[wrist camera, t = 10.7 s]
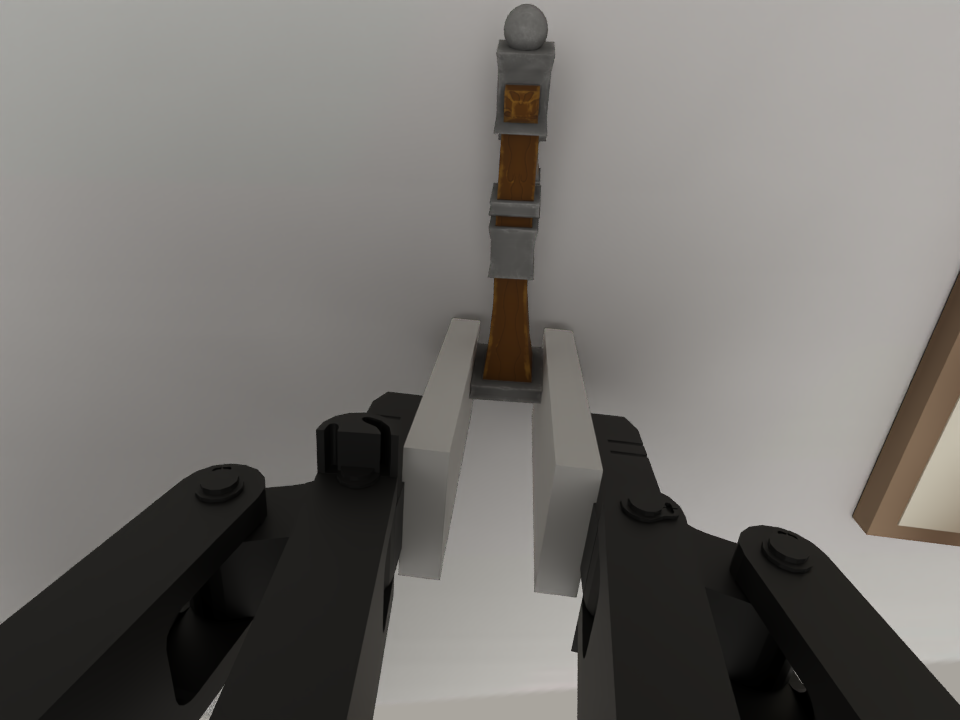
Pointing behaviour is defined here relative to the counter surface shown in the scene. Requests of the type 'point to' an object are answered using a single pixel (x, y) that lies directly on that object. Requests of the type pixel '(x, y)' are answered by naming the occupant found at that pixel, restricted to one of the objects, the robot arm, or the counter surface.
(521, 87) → the lantern lamp post
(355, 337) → the counter surface
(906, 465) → the board
